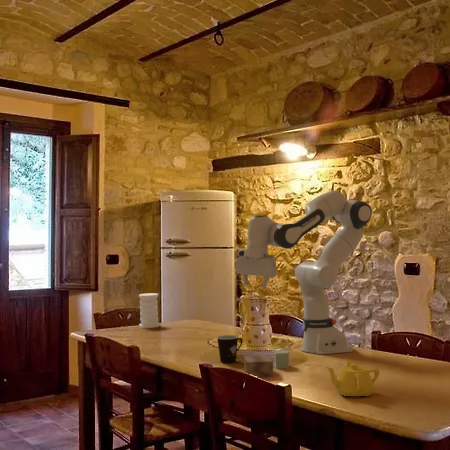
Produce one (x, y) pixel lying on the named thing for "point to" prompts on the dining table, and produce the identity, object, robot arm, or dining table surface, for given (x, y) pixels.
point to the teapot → (354, 380)
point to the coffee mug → (228, 348)
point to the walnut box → (258, 365)
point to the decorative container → (149, 310)
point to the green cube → (281, 359)
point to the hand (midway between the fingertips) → (255, 286)
